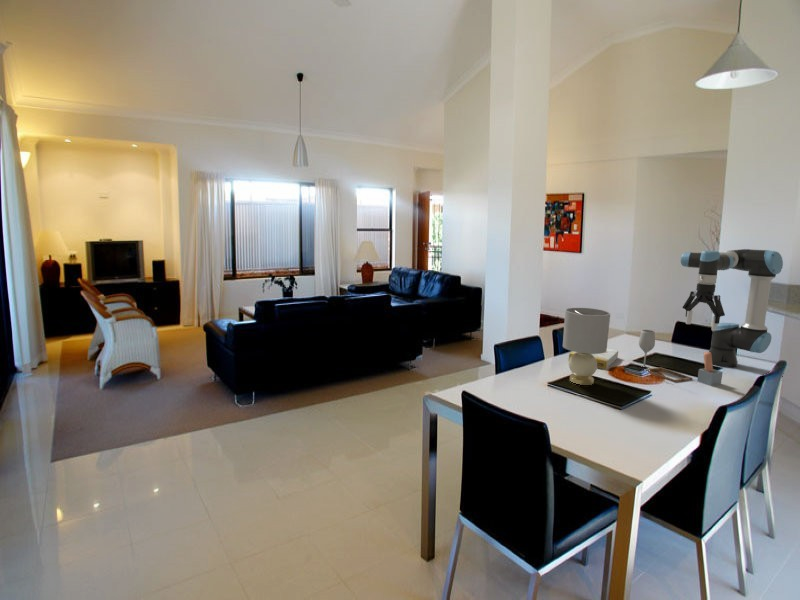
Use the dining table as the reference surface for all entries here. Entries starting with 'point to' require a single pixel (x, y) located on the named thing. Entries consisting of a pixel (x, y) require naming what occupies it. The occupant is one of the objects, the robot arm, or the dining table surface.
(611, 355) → the cereal box
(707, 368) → the tan rounded bar
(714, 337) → the robot arm
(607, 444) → the dining table surface
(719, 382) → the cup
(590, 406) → the dining table surface
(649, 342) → the wineglass
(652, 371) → the tray
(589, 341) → the lamp
